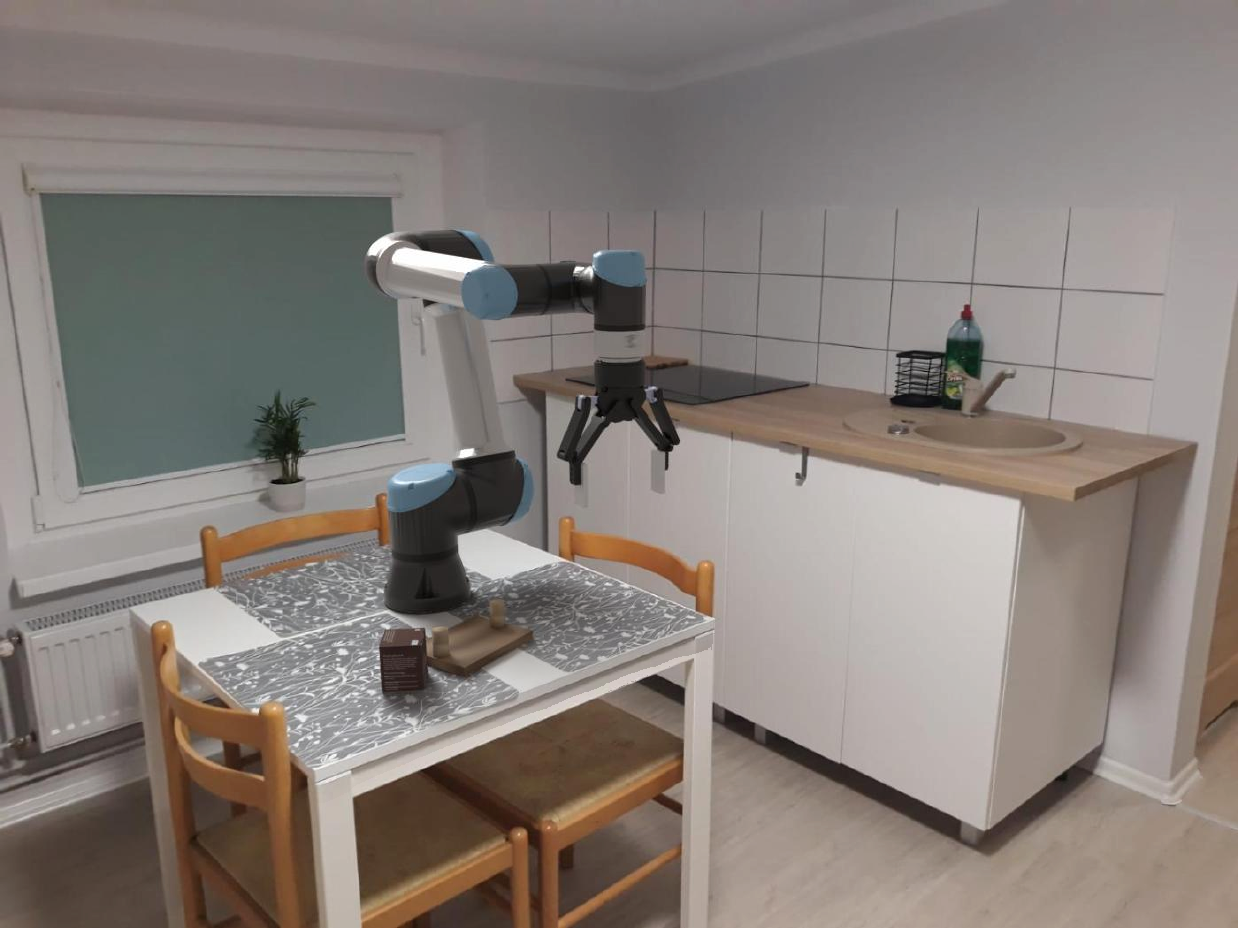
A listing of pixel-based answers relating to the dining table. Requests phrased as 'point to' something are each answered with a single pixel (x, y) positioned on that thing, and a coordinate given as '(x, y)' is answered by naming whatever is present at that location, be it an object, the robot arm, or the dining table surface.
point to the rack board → (475, 642)
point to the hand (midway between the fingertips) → (620, 498)
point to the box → (403, 660)
